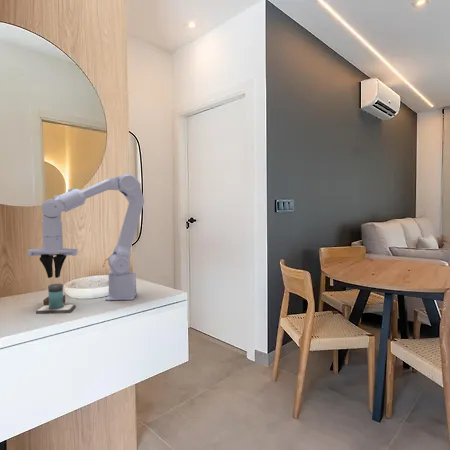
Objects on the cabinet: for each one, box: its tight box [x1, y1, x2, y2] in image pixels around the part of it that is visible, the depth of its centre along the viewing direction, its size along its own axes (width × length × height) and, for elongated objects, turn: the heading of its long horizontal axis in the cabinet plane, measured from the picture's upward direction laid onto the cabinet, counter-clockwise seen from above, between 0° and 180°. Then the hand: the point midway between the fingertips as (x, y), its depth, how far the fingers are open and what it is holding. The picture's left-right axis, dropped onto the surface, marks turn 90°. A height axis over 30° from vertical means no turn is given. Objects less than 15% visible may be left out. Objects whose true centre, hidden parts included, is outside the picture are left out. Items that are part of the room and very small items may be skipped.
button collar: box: [42, 294, 66, 306], centre depth 108 cm, size 5×5×2 cm
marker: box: [47, 283, 64, 309], centre depth 102 cm, size 4×4×7 cm
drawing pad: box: [35, 304, 77, 315], centre depth 103 cm, size 10×5×1 cm, turn 97°
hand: (53, 277), depth 107 cm, fingers closed
